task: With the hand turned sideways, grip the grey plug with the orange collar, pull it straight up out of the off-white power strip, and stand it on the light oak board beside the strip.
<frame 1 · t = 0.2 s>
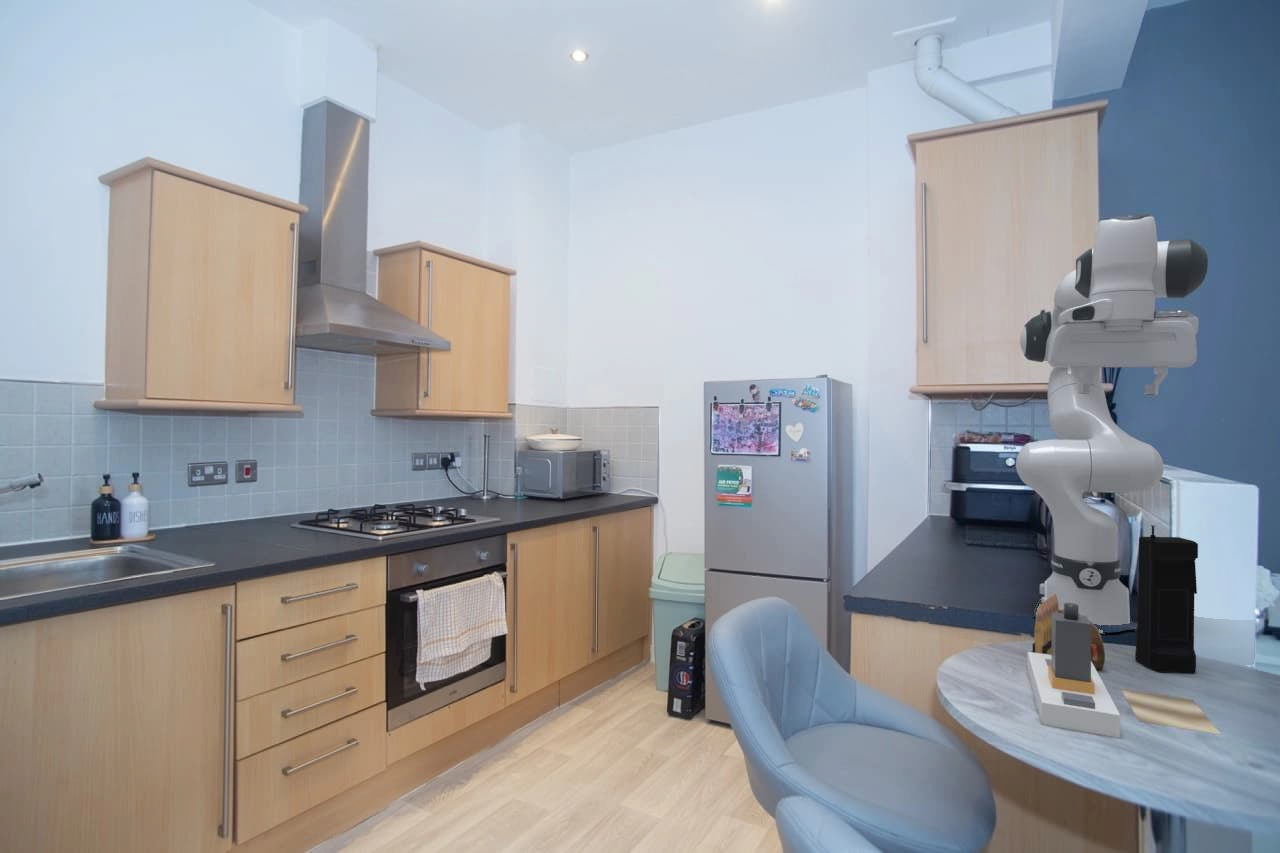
hand: (1116, 394, 111), 48 cm above the table, tool pointing down, fingers open, 8 cm apart
tin: (1076, 662, 118), on the table
power strip: (1068, 705, 100), on the table
oak board: (1166, 716, 96), on the table
portable radio: (1167, 667, 116), on the table
plug: (1070, 704, 98), point 1 cm above the table, touching power strip
ammunition clip: (1047, 667, 116), on the table
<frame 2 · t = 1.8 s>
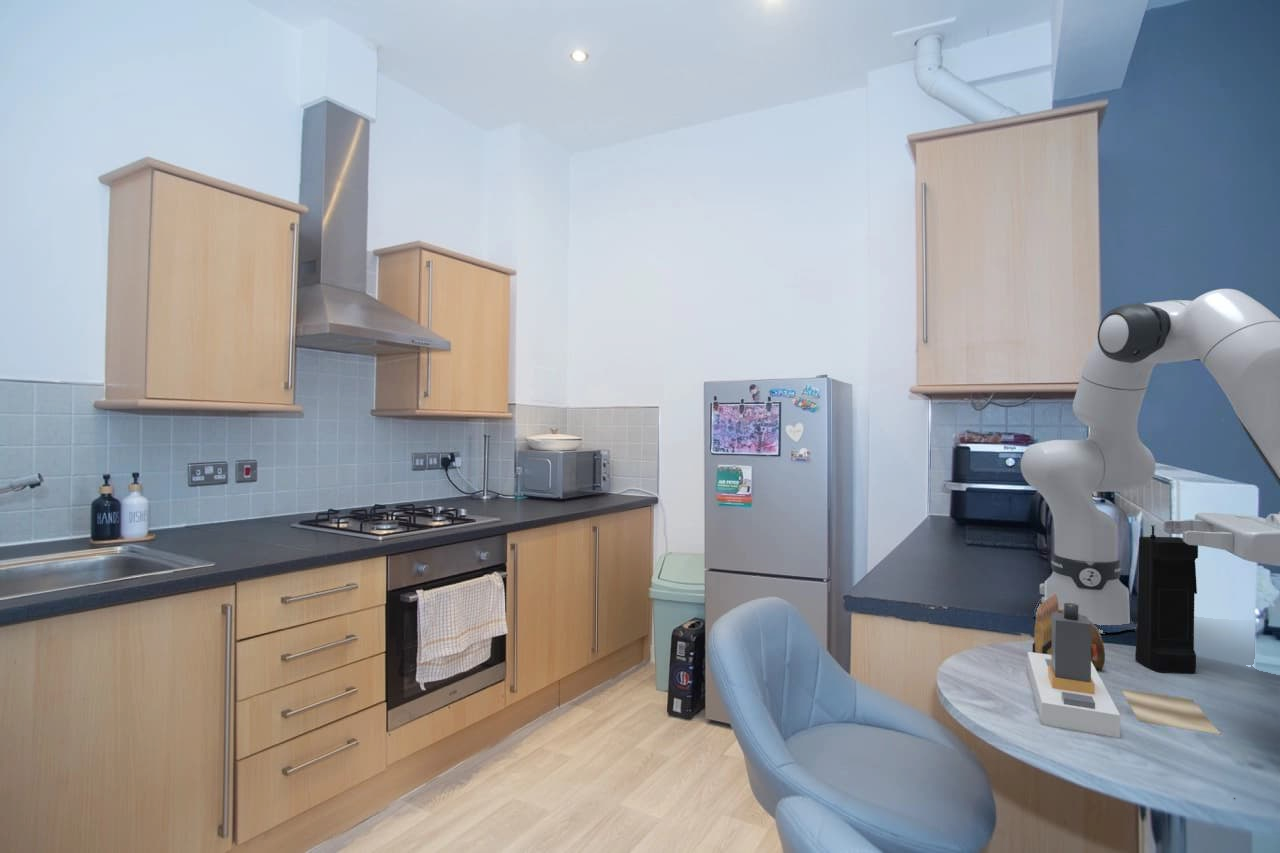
hand: (1173, 531, 93), 28 cm above the table, tool horizontal, fingers open, 8 cm apart
nothing on the table moved.
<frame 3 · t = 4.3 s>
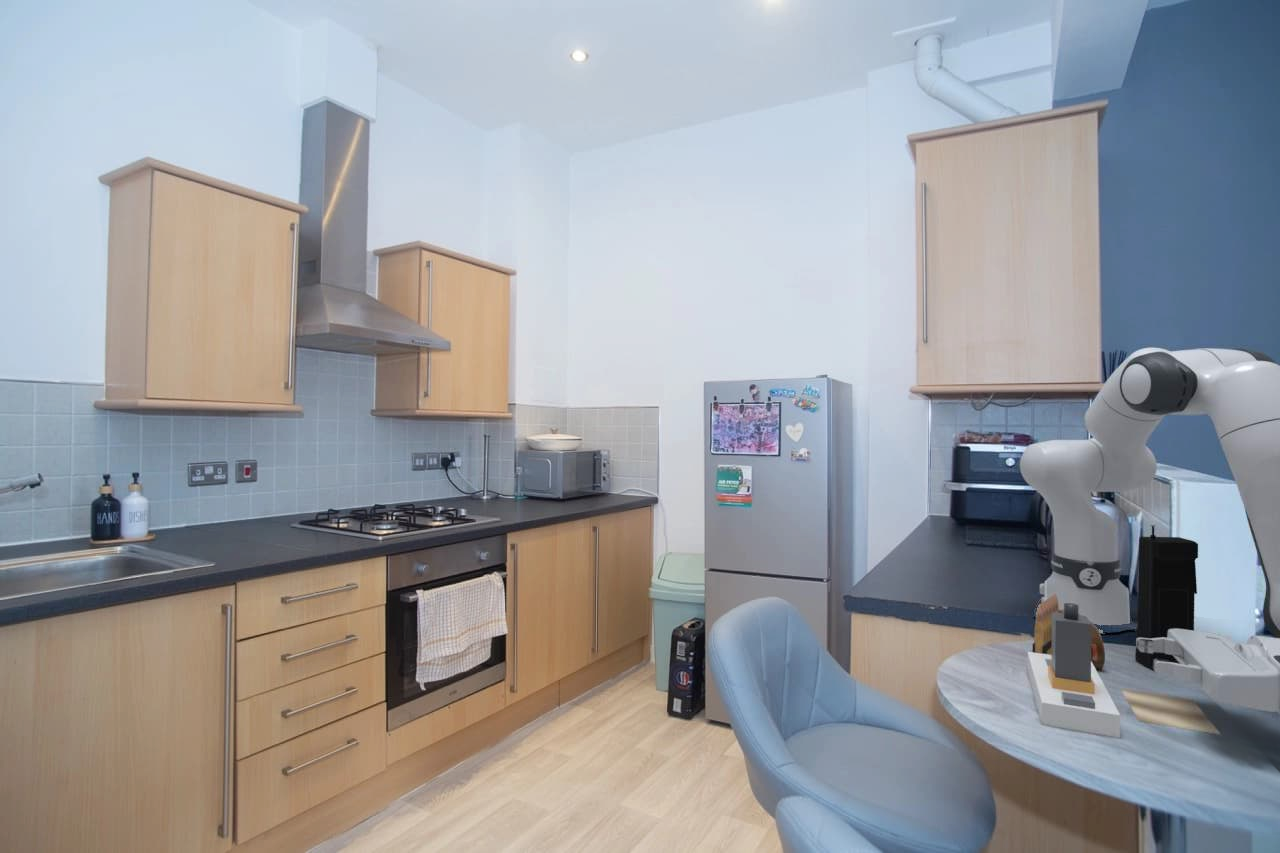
hand: (1145, 654, 94), 10 cm above the table, tool horizontal, fingers open, 8 cm apart
nothing on the table moved.
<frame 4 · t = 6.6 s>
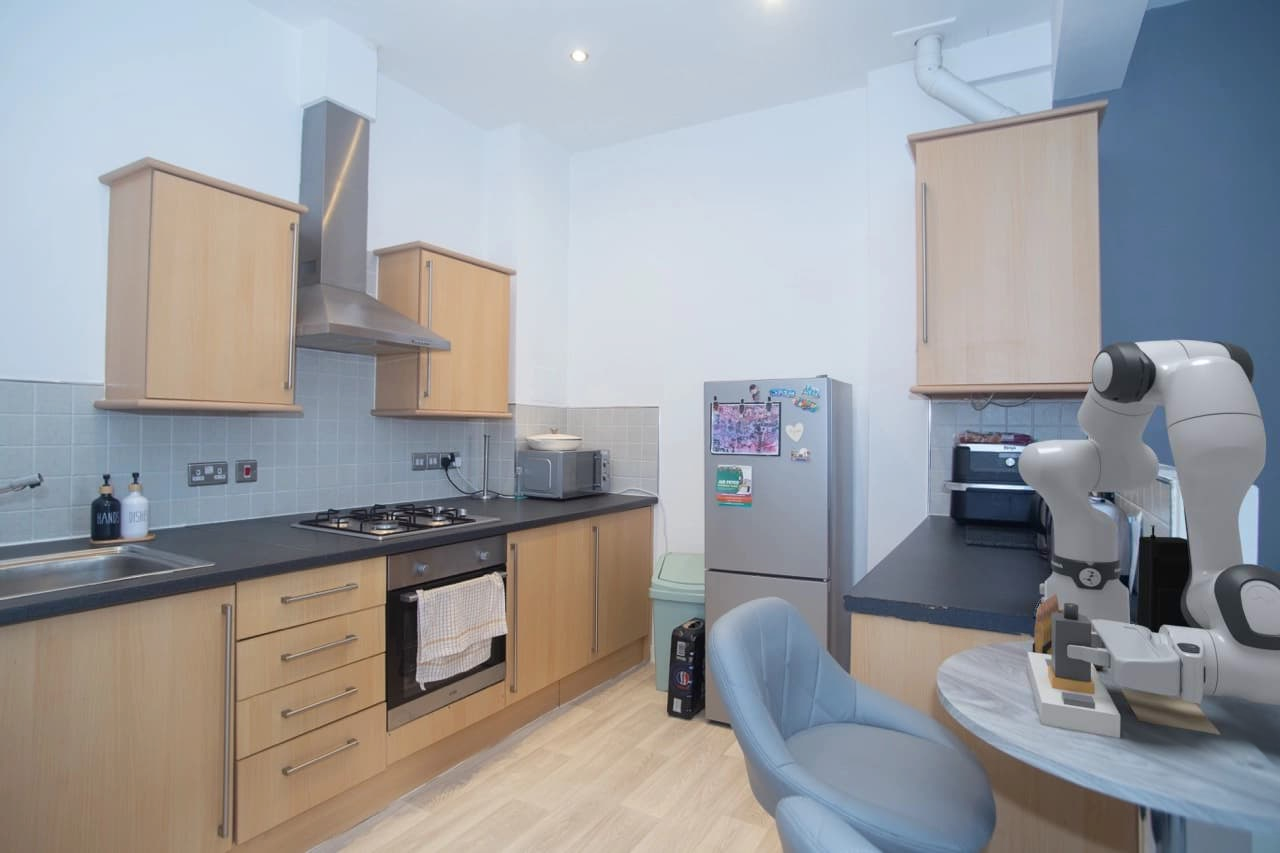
hand: (1063, 643, 99), 10 cm above the table, tool horizontal, fingers closed on plug, 4 cm apart
plug: (1070, 704, 98), point 1 cm above the table, touching gripper, power strip
everything else where it was.
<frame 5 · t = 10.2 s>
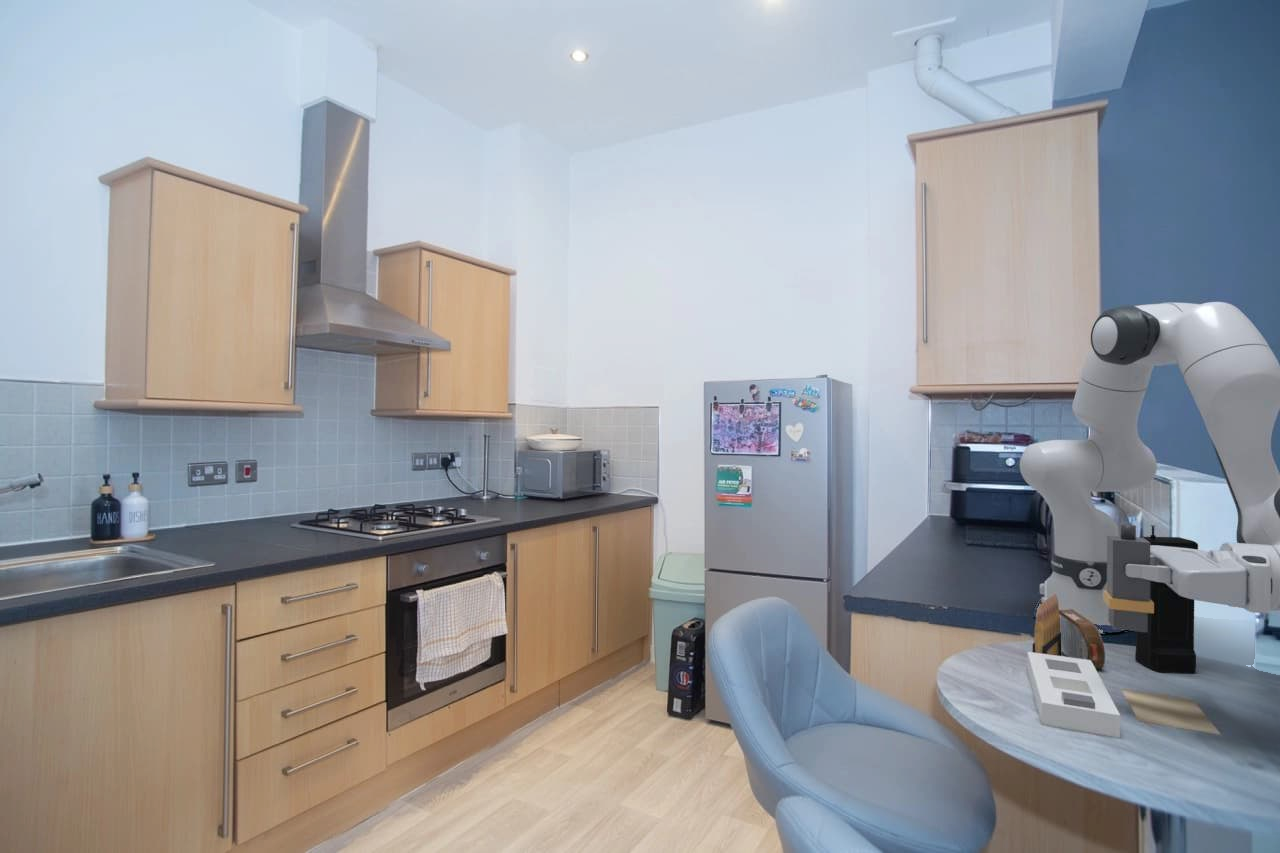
hand: (1120, 565, 97), 22 cm above the table, tool horizontal, fingers closed on plug, 4 cm apart
plug: (1127, 626, 97), point 13 cm above the table, touching gripper
everything else where it was.
when the fingers open (11 cm above the table, at t = 14.0 s): plug drops 1 cm, resting on oak board.
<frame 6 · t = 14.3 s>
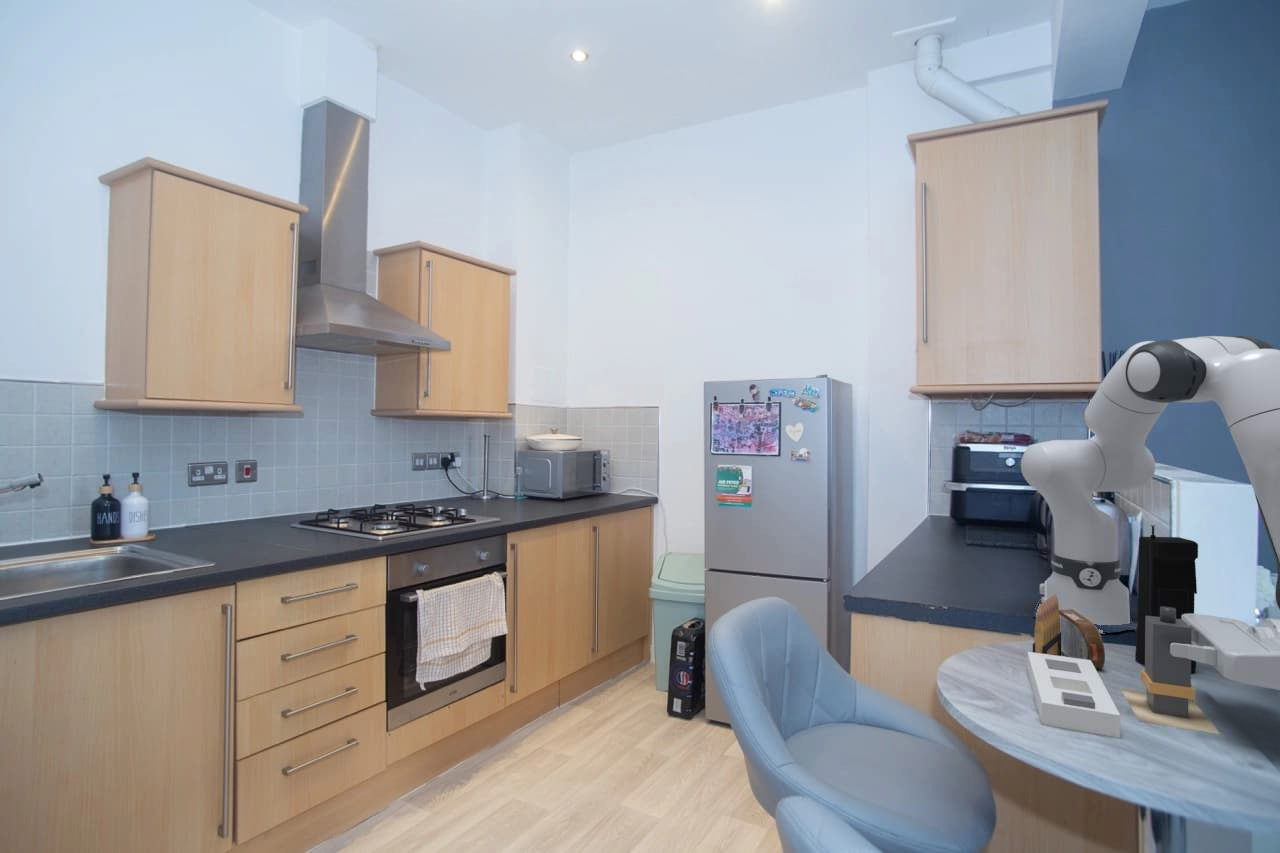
hand: (1160, 638, 97), 11 cm above the table, tool horizontal, fingers open, 8 cm apart
plug: (1166, 709, 97), point 1 cm above the table, touching oak board
everything else where it was.
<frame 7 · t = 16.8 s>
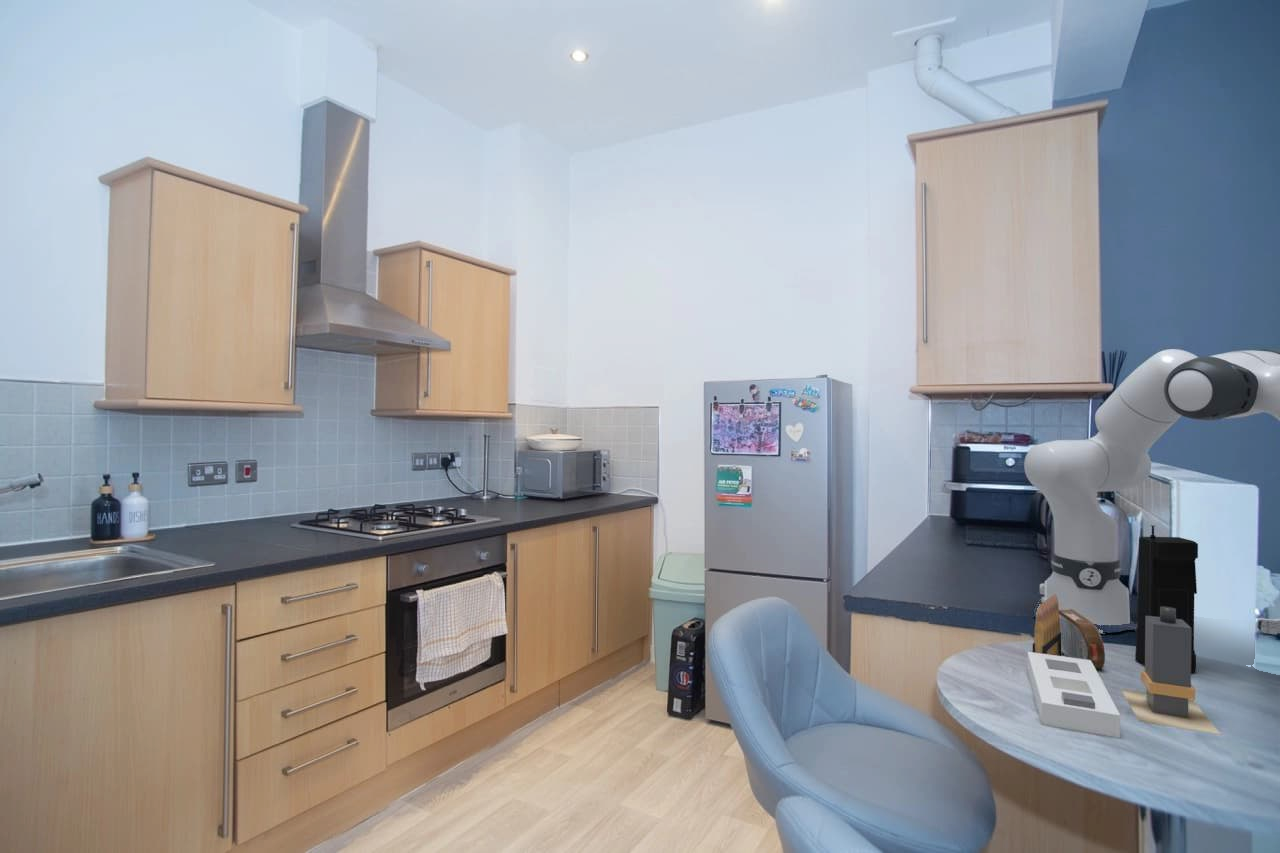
hand: (1272, 635, 92), 13 cm above the table, tool horizontal, fingers open, 8 cm apart
nothing on the table moved.
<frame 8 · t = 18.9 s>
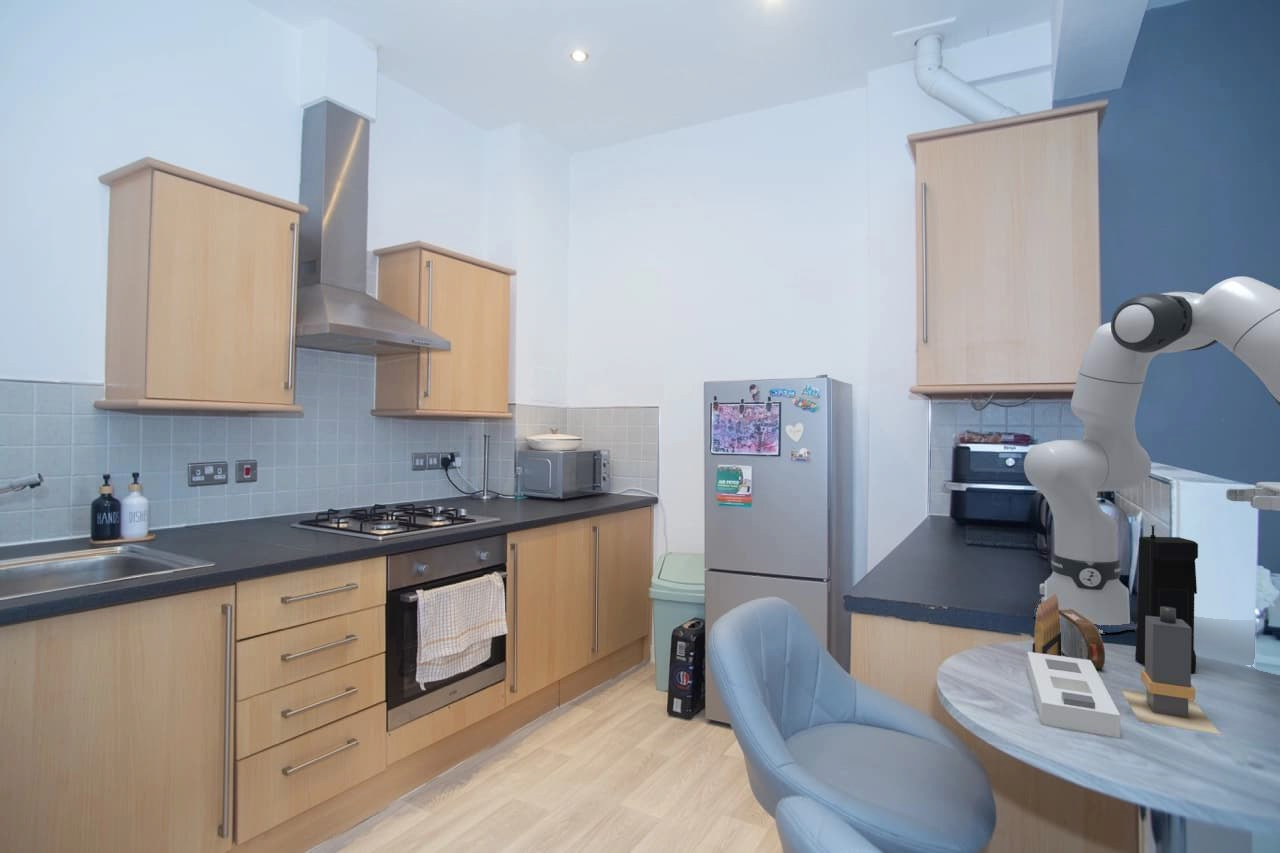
hand: (1239, 498, 97), 32 cm above the table, tool horizontal, fingers open, 8 cm apart
nothing on the table moved.
at the end: plug inside the target area (0.1 cm from its centre), point 1.0 cm above the table; plug tilted 0°; the gripper is holding nothing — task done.
